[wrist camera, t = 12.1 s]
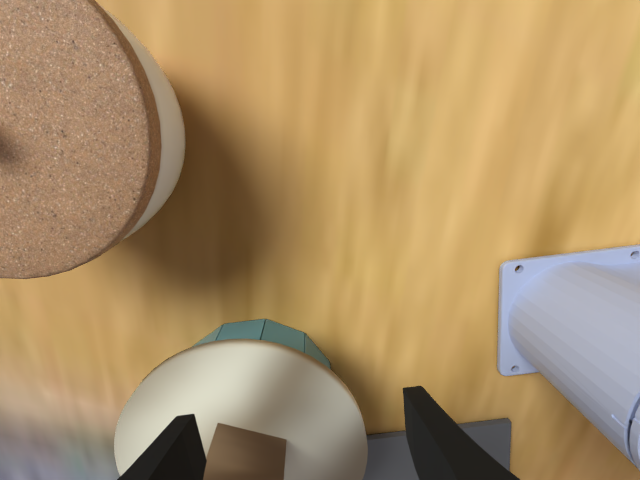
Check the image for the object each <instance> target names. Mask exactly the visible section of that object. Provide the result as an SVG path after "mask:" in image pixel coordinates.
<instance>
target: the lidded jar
mask: <svg viewBox="0 0 640 480" xmlns="http://www.w3.org/2000/svg"><path fill="white" fill-rule="evenodd" d="M185 146H186V143H185V126H184V122H183V117H182V112H181V108H180V105H179V102H178V100H177V97H176V94H175V92H174V90H173V88H172V86H171V84H170V82H169V80H168V78H167V76H166V74H165V73H164V71H163V70H162V68H161V67H160V66H159V64H158V63H157V61H156V60H155V59H154V57H153V56H152V54H151V53H150V51H149V50H148V49H147V48H146V47H145V46H144V45H143V44H142V43H141V42H140V40H139V39H138V38H137V37H136V36H135V35H134V34H133V33H132V32H131V31H130V30H129V29H128V28H127V27H126V26H125V25H124V24H123V23H122V22H121V21H120V20H118V19H117V18H116V17H115V16H113V15H112V14H111V13H110V12H109V11H107V10H106V9H105V8H104V7H102V6H101V5H100V4H98V3H97V2H96V1H95V0H0V278H15V279H28V278H37V277H47V276H51V275H55V274H59V273H62V272H66V271H70V270H72V269H74V268H76V267H78V266H81V265H83V264H85V263H87V262H89V261H91V260H93V259H95V258H97V257H99V256H100V255H102V254H103V253H105V252H106V251H108V250H109V249H111V248H112V247H113V246H115V245H116V244H118V243H119V242H120V241H122V240H124V239H125V238H127V237H128V236H130V235H131V234H133V233H134V232H136V231H137V230H138V229H140V228H141V227H142V226H144V225H145V224H146V223H147V222H148V221H149V220H150V219H151V218H152V217H153V216H154V215H155V214H156V213H157V212H158V211H159V210H160V209H161V208H162V206H163V205H164V203H165V202H166V201H167V199H168V198H169V196H170V195H171V193H172V192H173V190H174V188H175V186H176V184H177V182H178V179H179V177H180V174H181V170H182V167H183V163H184V155H185Z"/></svg>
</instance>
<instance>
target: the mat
mask: <svg viewBox="0 0 640 480" xmlns="http://www.w3.org/2000/svg"><path fill="white" fill-rule="evenodd" d="M457 425H458V426H459V427H460V428H461V429H462V430H463V431H464V432H465V433H466V434H468V435H469V436H470V437H471V438H472V439H473V440H474V441H475V442H476V443H477V444H478V445H479V446H480V447H482V448H483V449H484V450H485V451H486V452H487V453H488V454H489V455H490V456H492V457H493V458H494V459H495V460H496V461H497V462H499V463H500V464H501V465H502V466H503V467H505V468H506V469H507V470H508V471H509V467H510V442H511V421H510V420H509V419H508V418H504V419H496V420H488V421H480V422H472V423H464V424H457ZM366 436H367V445H368V456H367V465H366V469H365V474H364V477H363V479H362V480H419V478H418V475H417V472H416V470H415V467H414V463H413V460H412V456H411V453H410V449H409V445H408V441H407V438H406V431H398V432H390V433H382V434H374V435H366Z"/></svg>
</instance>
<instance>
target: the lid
mask: <svg viewBox="0 0 640 480" xmlns="http://www.w3.org/2000/svg"><path fill="white" fill-rule="evenodd" d="M188 414H195V418H196V422H197V426H198V429H199V433H200V437H201V441H202V445H203V448H204V452H205V456H206V460H207V462H206V467H205V472H204V477H203V480H362V479H363V477H364V474H365V469H366V465H367V456H368V445H367V436H366V431H365V426H364V421H363V418H362V414H361V411H360V409H359V406H358V404H357V402H356V400H355V398H354V396H353V395H352V393H351V392H350V390H349V389H348V387H347V386H346V385H345V384H344V383H343V381H342V380H341V379H340V378H339V377H338V376H337V375H336V374H335V373H334V372H333V371H331V370H330V369H329V368H328V367H327V366H326V365H324V364H322V363H321V362H319V361H318V360H316V359H315V358H313V357H312V356H309V355H307V354H305V353H303V352H301V351H299V350H297V349H294V348H291V347H288V346H285V345H282V344H279V343H274V342H269V341H265V340H255V339H226V340H218V341H212V342H208V343H204V344H200V345H196V346H194V347H191V348H188V349H186V350H183V351H181V352H179V353H177V354H175V355H174V356H172V357H170V358H168V359H166V360H165V361H164V362H162V363H161V364H160V365H158V366H157V367H156V368H154V369H153V370H152V371H151V372H150V373H149V374H148V375H147V376H146V377H145V378H144V379H143V381H142V382H141V383H140V385H139V386H138V387H137V389H136V390H135V391H134V393H133V394H132V396H131V397H130V398H129V400H128V401H127V403H126V405H125V407H124V409H123V411H122V413H121V415H120V417H119V421H118V424H117V427H116V433H115V440H114V450H115V459H116V464H117V469H118V471H119V474H120V476H121V475H122V474H123V473H124V472H125V471H126V470H127V469H128V468H129V467H130V466H131V465H132V464H133V463H134V462H135V461H136V460H137V459H138V457H139V456H140V455H141V454H142V453H143V452H144V451H145V450H146V449H147V448H148V447H149V446H150V444H151V443H152V442H153V441H154V440H155V439H156V438H157V437H158V436H159V434H160V433H161V432H162V431H163V430H164V429H165V428H166V427H167V426H168V425H169V424H170V422H171V421H172V420H173V419H174V418H175V417H176V416H180V415H188Z"/></svg>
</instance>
